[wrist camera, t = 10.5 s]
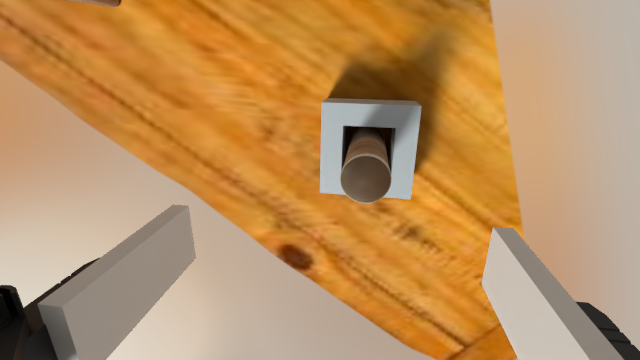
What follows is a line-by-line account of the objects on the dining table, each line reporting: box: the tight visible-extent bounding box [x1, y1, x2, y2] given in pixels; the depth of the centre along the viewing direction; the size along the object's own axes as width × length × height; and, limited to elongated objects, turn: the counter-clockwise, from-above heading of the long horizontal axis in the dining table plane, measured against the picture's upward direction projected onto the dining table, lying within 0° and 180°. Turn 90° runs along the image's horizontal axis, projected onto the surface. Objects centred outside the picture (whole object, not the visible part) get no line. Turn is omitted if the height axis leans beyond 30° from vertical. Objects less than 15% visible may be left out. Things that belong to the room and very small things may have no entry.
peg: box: [340, 127, 392, 203], centre depth 33 cm, size 4×4×14 cm
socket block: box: [320, 98, 422, 199], centre depth 37 cm, size 10×10×5 cm
